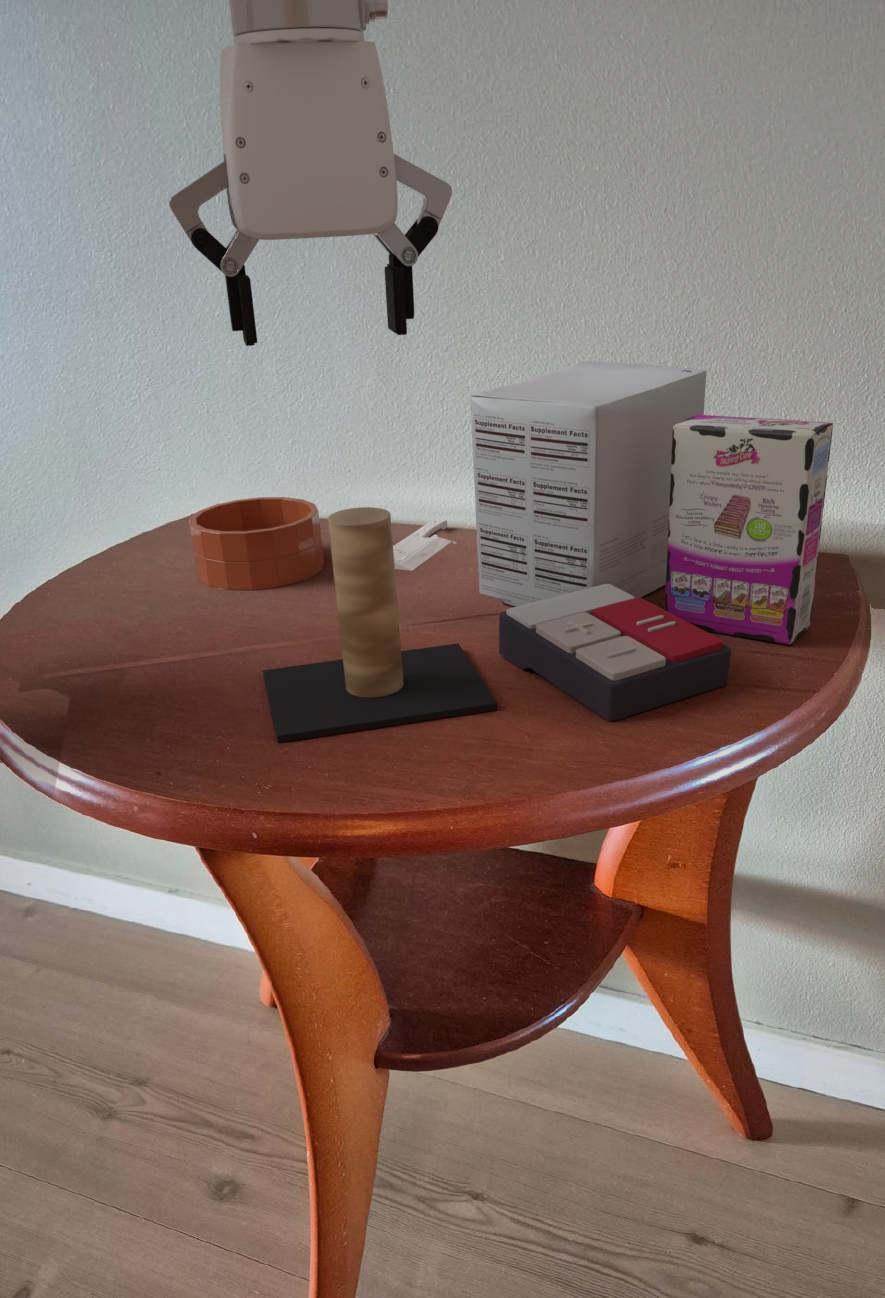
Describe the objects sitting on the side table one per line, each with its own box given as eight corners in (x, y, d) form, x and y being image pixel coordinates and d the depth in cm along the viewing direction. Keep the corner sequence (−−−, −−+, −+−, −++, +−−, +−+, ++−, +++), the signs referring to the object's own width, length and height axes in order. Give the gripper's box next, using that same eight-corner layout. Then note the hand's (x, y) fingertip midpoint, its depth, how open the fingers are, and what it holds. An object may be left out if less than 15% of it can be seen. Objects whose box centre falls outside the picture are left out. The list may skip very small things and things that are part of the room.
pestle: (350, 701, 80) (332, 527, 74) (341, 678, 84) (323, 511, 77) (408, 693, 81) (395, 520, 74) (397, 670, 85) (384, 504, 78)
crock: (201, 601, 103) (190, 539, 100) (197, 562, 113) (187, 505, 110) (331, 585, 105) (325, 523, 102) (315, 548, 115) (309, 491, 112)
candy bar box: (812, 626, 89) (837, 420, 81) (791, 647, 86) (815, 434, 78) (685, 605, 95) (696, 410, 87) (660, 624, 92) (670, 423, 83)
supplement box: (582, 548, 110) (583, 359, 101) (698, 570, 103) (711, 368, 94) (472, 598, 99) (464, 391, 91) (593, 627, 92) (597, 404, 83)
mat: (277, 743, 76) (276, 735, 76) (263, 676, 86) (262, 669, 86) (497, 710, 79) (497, 702, 79) (458, 649, 89) (458, 642, 89)
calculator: (612, 676, 74) (496, 603, 85) (609, 731, 76) (496, 653, 88) (735, 639, 78) (610, 574, 90) (728, 692, 81) (607, 623, 92)
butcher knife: (475, 530, 117) (475, 520, 117) (415, 575, 106) (414, 564, 105) (433, 526, 119) (432, 516, 119) (369, 570, 108) (368, 559, 107)
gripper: (431, 21, 67) (441, 322, 75) (143, 27, 64) (188, 339, 72) (459, 5, 60) (467, 335, 69) (141, 11, 57) (191, 355, 66)
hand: (324, 337), depth 71 cm, fingers open, 9 cm apart
